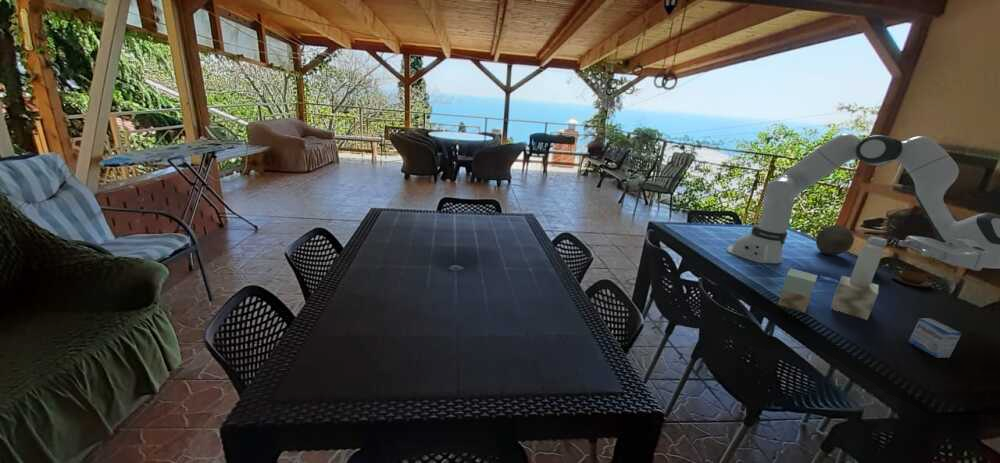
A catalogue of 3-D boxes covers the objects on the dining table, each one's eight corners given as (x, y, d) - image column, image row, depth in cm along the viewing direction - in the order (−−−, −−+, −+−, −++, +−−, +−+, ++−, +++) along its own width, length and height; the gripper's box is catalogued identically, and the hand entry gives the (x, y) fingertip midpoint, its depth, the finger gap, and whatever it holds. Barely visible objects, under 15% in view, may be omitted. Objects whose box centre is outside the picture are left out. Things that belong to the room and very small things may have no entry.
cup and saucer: (918, 279, 167) (924, 266, 165) (937, 292, 157) (944, 278, 155) (884, 275, 171) (889, 262, 169) (900, 286, 160) (906, 272, 158)
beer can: (878, 273, 172) (891, 241, 167) (863, 271, 173) (875, 239, 168) (869, 267, 178) (881, 236, 173) (854, 266, 179) (865, 235, 174)
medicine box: (907, 342, 120) (918, 317, 118) (920, 341, 121) (931, 317, 118) (936, 358, 113) (948, 332, 110) (950, 358, 113) (962, 332, 110)
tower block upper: (781, 289, 138) (786, 274, 136) (785, 283, 144) (790, 268, 142) (809, 297, 133) (815, 282, 131) (812, 290, 139) (817, 275, 137)
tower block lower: (777, 304, 140) (782, 289, 138) (781, 297, 146) (786, 283, 144) (804, 313, 135) (810, 298, 133) (808, 305, 140) (813, 290, 138)
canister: (848, 283, 135) (862, 246, 131) (849, 279, 139) (863, 243, 135) (869, 289, 132) (884, 251, 127) (869, 284, 136) (884, 247, 131)
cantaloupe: (805, 251, 195) (814, 223, 190) (822, 248, 200) (831, 220, 195) (837, 262, 183) (848, 232, 178) (854, 258, 188) (865, 229, 183)
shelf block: (830, 308, 139) (839, 283, 135) (832, 299, 145) (841, 275, 142) (867, 320, 132) (878, 293, 129) (868, 310, 139) (878, 284, 136)
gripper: (935, 233, 137) (891, 229, 140) (994, 254, 118) (941, 249, 120) (928, 250, 139) (884, 246, 142) (985, 273, 120) (933, 268, 122)
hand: (911, 247), depth 131 cm, fingers open, 8 cm apart
